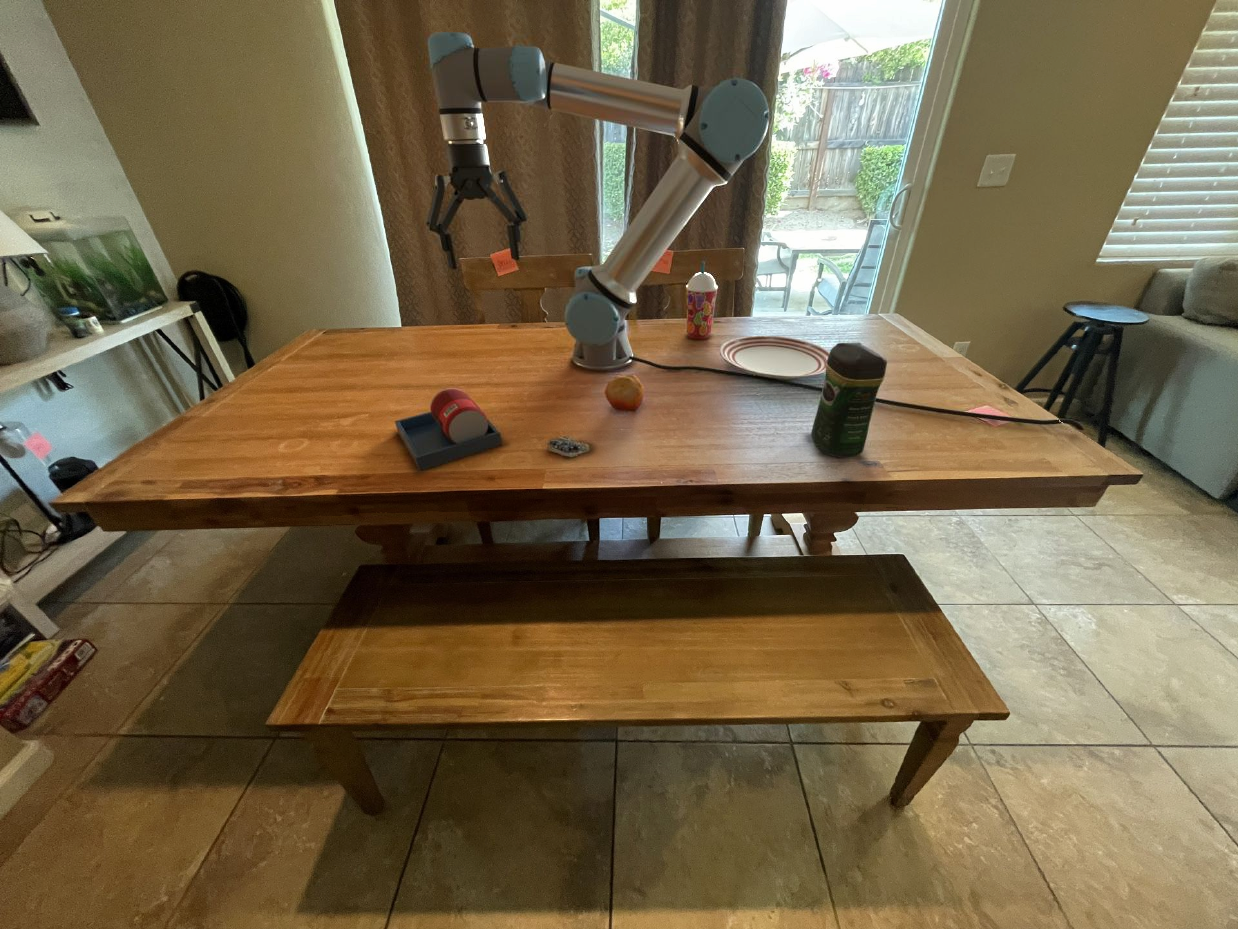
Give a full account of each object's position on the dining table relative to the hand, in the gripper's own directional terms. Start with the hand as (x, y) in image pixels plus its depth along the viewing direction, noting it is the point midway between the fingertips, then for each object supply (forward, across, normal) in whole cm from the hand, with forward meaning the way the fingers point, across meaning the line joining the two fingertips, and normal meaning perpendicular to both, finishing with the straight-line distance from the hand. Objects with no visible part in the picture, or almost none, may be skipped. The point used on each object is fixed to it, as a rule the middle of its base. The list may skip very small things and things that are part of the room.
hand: (485, 263), depth 105 cm
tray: (+27, -19, -19) cm, 38 cm away
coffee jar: (+27, +39, -63) cm, 79 cm away
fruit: (+27, +16, -28) cm, 42 cm away
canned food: (+22, -16, -26) cm, 38 cm away
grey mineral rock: (+27, -2, -36) cm, 45 cm away
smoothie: (+27, +58, -3) cm, 64 cm away
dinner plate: (+27, +59, -30) cm, 72 cm away
